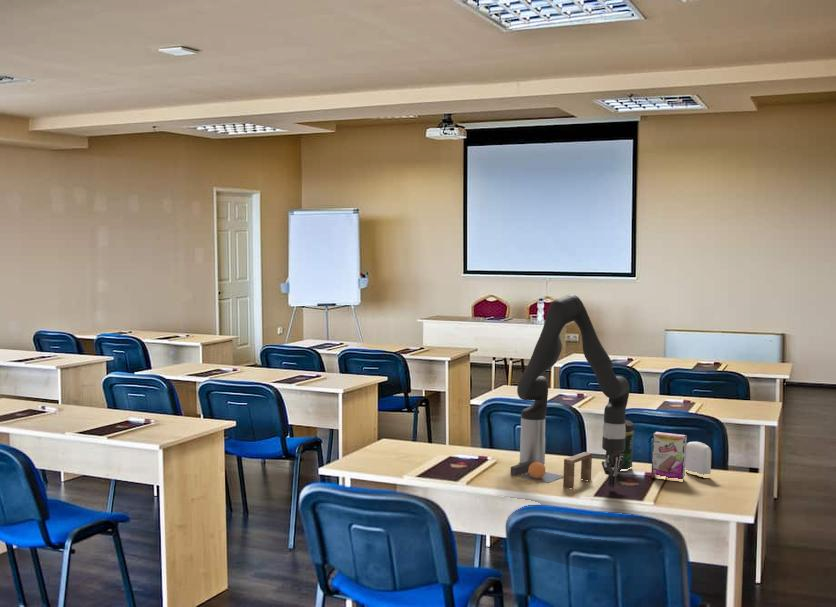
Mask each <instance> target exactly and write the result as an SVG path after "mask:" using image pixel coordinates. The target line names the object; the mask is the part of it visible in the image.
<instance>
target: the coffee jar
mask: <svg viewBox="0 0 836 607" xmlns="http://www.w3.org/2000/svg"><path fill="white" fill-rule="evenodd" d="M625 428H626V434H625V450H624V451H621V456H622V457H624V461H623V464H622V467H621V469H628V468H630V467H632V468H633V451H634V450H633V449H634V448H633V446H634V445H633V443H634V434H635V432H634V431H635V430H634V429H635V424H634V423H633V422H632V421H631V420H630V419H625Z"/></svg>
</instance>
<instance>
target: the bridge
mask: <svg viewBox="0 0 836 607" xmlns="http://www.w3.org/2000/svg"><path fill="white" fill-rule="evenodd" d="M579 462H580V464H581V465H580V480H581V479H583V480H588V481H587V482H590V481H589V480H591V481H592V463H593V453H592V452H587V451H583V452H581V453H577V454H575V455H572V456H570V457H567V458H564V459H563V478H562V479H563V481H562V488H564V487H565V488H566V489H569V488H572V489H574V488H575V486H574V485H575V464H577V463H579ZM583 480H582V481H583ZM573 487H574V488H573Z"/></svg>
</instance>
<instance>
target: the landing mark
mask: <svg viewBox="0 0 836 607" xmlns="http://www.w3.org/2000/svg"><path fill="white" fill-rule="evenodd" d="M563 476H564V474H563V475H562V474H557V473H552V472H546V471H545V475H544V476H543V477H542V478H540V479H534V478H532V477H531V476H530V474H529V472H526V473H523V474H520V475H518V478H522V479H528V480H533V481H537V482H543V483H547V484H550V483H552V482H555V481H557V480H559V478H560V479H563V478H562V477H563Z"/></svg>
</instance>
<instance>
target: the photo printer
mask: <svg viewBox="0 0 836 607" xmlns="http://www.w3.org/2000/svg"><path fill="white" fill-rule="evenodd" d="M685 468H686V469H685V470H688V471H692V472H697V473H699V474H703V475H704V474H711V473H712V472H711V471H712V469H711V468H712V450H711V447H709V445H707V444H706V443H703V442H700V441H689V442H686V459H685Z"/></svg>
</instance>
